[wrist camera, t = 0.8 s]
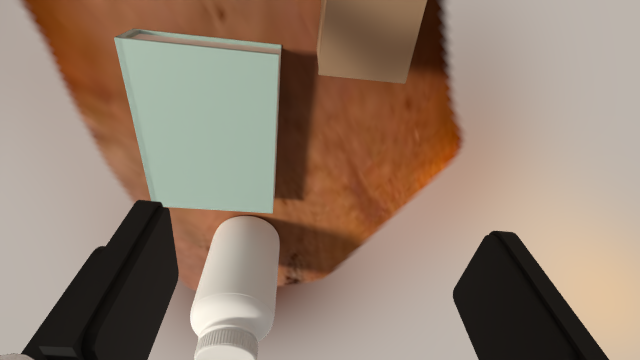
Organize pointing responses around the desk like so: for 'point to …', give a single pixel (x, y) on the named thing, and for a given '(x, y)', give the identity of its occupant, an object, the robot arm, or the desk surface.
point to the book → (204, 117)
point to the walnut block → (368, 38)
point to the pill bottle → (237, 290)
